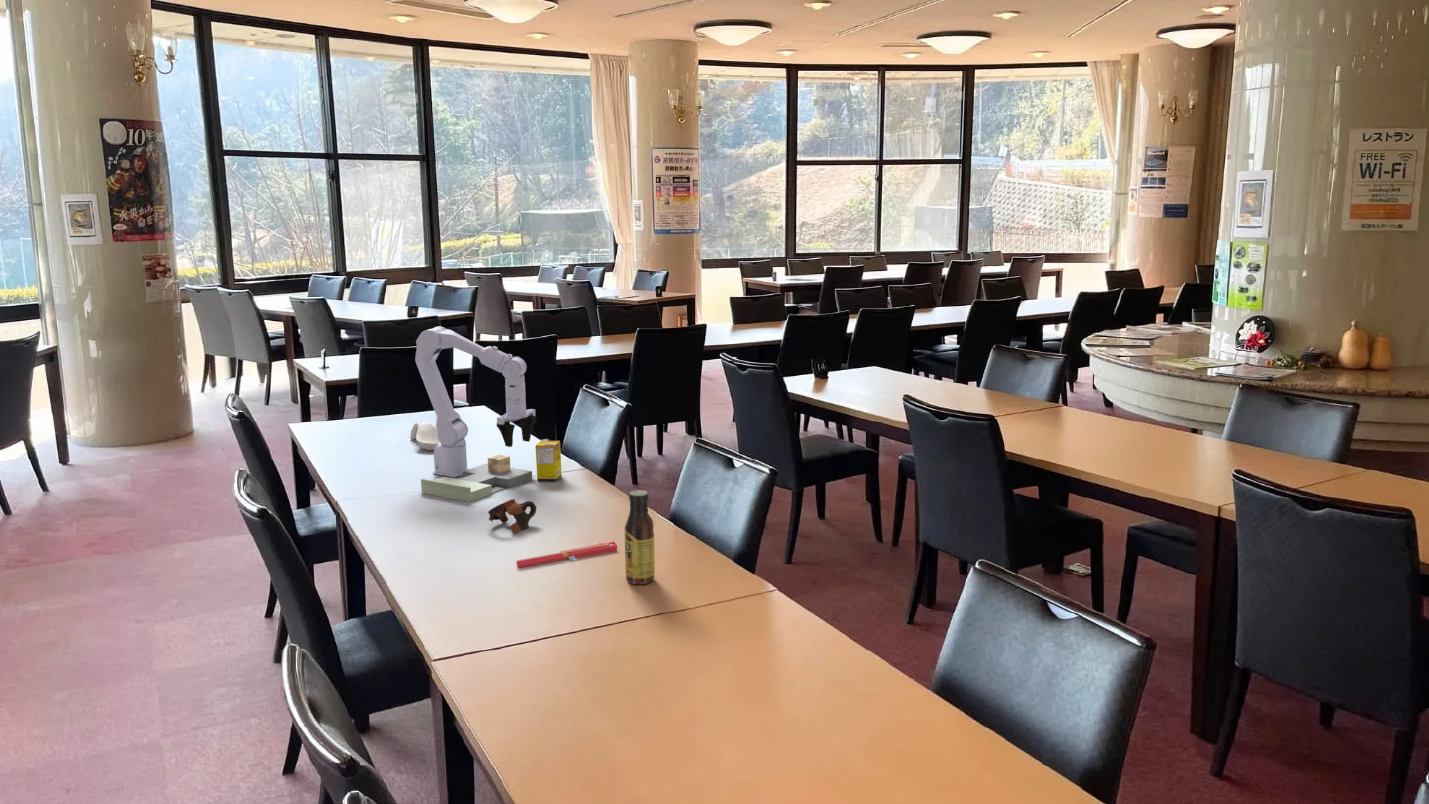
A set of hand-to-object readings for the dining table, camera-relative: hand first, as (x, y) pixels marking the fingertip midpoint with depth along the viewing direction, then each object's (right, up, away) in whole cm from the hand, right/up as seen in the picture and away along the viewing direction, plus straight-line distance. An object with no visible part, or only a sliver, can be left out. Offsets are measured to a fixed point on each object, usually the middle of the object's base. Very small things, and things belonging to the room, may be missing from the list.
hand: (517, 443), depth 301 cm
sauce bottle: (+43, -26, -84) cm, 98 cm away
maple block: (-5, -8, -3) cm, 10 cm away
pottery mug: (+8, -19, -47) cm, 51 cm away
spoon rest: (-38, -3, +40) cm, 55 cm away
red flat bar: (+25, -24, -70) cm, 78 cm away
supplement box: (+10, -10, -3) cm, 15 cm away
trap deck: (-9, -12, -10) cm, 18 cm away
